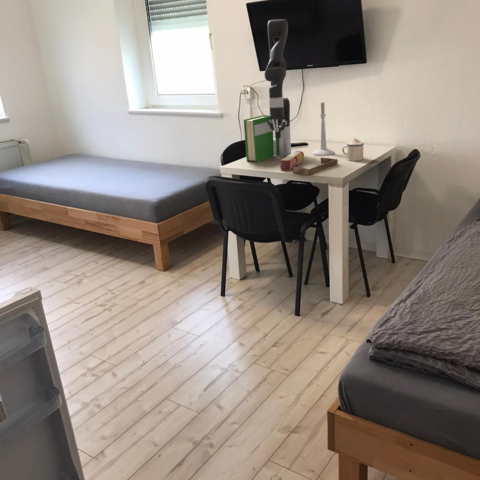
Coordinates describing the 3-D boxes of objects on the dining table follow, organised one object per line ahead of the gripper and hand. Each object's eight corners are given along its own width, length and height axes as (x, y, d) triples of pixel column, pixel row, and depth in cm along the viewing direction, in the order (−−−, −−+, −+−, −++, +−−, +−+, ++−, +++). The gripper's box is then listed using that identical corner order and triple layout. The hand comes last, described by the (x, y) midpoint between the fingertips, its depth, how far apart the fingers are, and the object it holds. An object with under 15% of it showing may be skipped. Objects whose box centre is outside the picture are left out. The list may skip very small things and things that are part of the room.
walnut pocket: (293, 173, 267) (292, 167, 266) (321, 162, 285) (321, 157, 284) (309, 175, 261) (309, 169, 260) (337, 164, 278) (337, 159, 277)
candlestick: (333, 150, 312) (333, 99, 302) (335, 155, 301) (334, 102, 290) (312, 152, 314) (311, 101, 303) (313, 156, 302) (311, 103, 292)
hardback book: (256, 162, 299) (253, 120, 290) (246, 161, 303) (243, 119, 295) (274, 155, 312) (272, 115, 303) (264, 155, 316) (261, 115, 308)
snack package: (290, 171, 273) (290, 158, 270) (279, 170, 276) (278, 158, 273) (304, 162, 290) (304, 150, 288) (293, 162, 293) (293, 150, 291)
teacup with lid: (365, 158, 288) (366, 137, 283) (360, 161, 280) (360, 140, 276) (345, 157, 293) (345, 136, 289) (339, 160, 286) (339, 139, 282)
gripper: (262, 106, 279) (264, 139, 285) (281, 107, 271) (283, 140, 277) (271, 105, 284) (273, 136, 290) (290, 105, 276) (292, 138, 282)
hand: (278, 138), depth 283 cm, fingers closed
